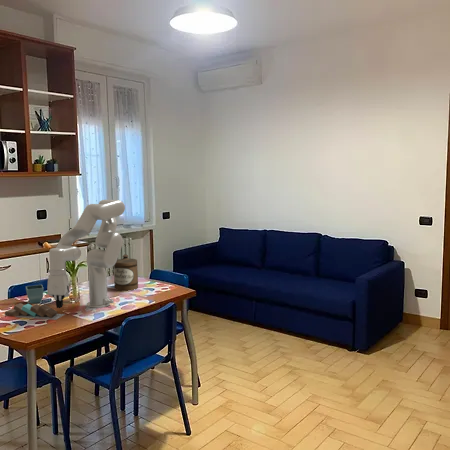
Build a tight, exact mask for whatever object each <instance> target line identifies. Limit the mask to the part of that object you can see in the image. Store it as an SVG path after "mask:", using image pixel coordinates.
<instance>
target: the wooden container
mask: <svg viewBox="0 0 450 450" xmlns="http://www.w3.org/2000/svg"><path fill="white" fill-rule="evenodd" d="M113 273H114V275H113V276H114V278H113V279H114V281H113V282H114V290H115V291H119V292H129V291H128V290H131V291H135V290H137V289H139V272H138V259H136V258H130V257H129V255H128V254H123V255H122V258H120V259H119V258H117V261H116V263H115V265H114V266H113ZM134 289H135V290H134Z"/></svg>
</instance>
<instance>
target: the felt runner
mask: <svg viewBox="0 0 450 450" xmlns="http://www.w3.org/2000/svg"><path fill="white" fill-rule="evenodd" d="M65 315H66V314H65V313H57V314H56V315H55V316H54V317H52V318H50V317H49V316H45V317H41V316H40V315H37V316H35V317H34V316H32V315H28V316H25V315H23V314H22V315H20V316H15V318H24V319H25V318H26V319H39V320H40V319H42V320H58V319H60V318H62V317H63V316H65Z"/></svg>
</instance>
